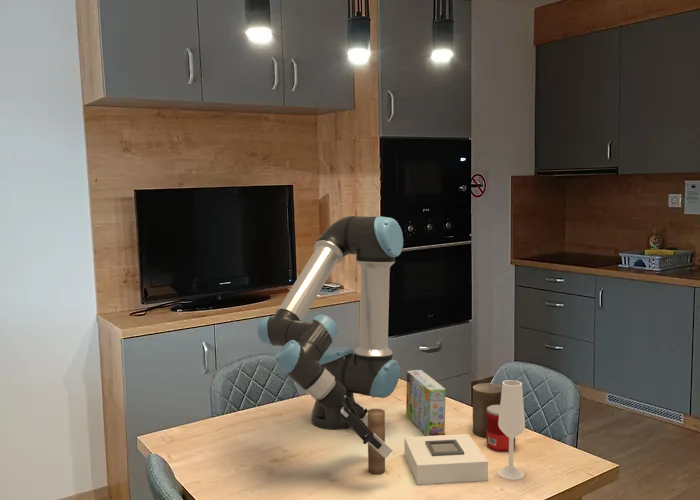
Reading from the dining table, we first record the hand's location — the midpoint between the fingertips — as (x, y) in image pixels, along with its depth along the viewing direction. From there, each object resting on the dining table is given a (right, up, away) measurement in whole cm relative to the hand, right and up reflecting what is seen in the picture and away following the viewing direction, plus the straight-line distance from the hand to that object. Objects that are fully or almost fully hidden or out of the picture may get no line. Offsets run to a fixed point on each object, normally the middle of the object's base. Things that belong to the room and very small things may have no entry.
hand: (384, 443), depth 170 cm
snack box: (+14, -4, +31) cm, 34 cm away
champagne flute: (+32, -7, -2) cm, 33 cm away
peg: (-2, -7, +1) cm, 8 cm away
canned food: (+34, -6, +15) cm, 37 cm away
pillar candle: (+33, -4, +26) cm, 42 cm away
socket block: (+16, -7, +2) cm, 17 cm away
